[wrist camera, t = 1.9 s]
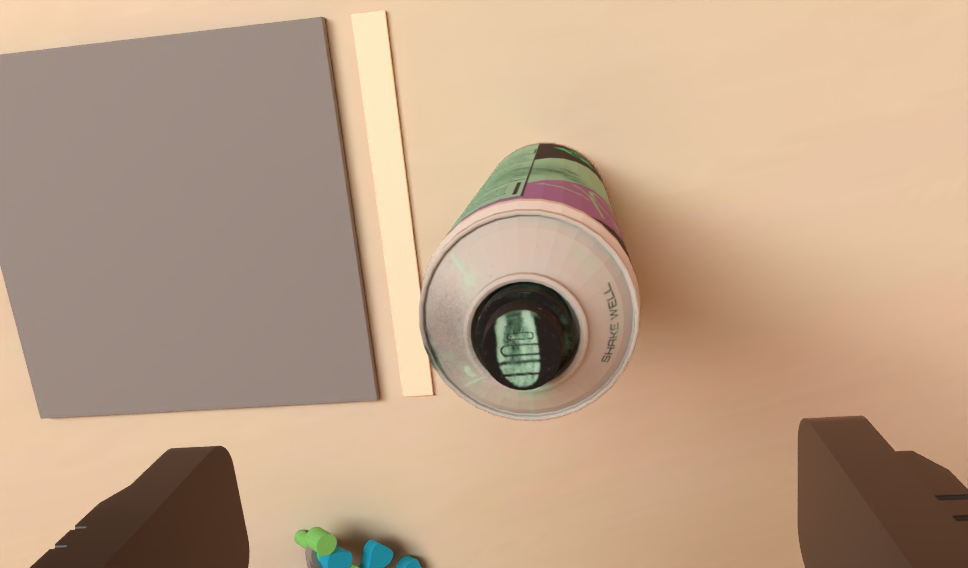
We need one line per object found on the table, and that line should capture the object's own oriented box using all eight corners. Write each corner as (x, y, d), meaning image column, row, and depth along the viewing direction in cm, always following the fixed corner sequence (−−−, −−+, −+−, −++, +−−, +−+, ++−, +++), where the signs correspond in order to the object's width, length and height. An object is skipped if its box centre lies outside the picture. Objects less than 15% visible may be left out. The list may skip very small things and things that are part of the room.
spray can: (534, 283, 36) (500, 517, 17) (461, 191, 36) (340, 329, 16) (630, 213, 35) (709, 382, 16) (557, 116, 34) (547, 170, 15)
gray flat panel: (385, 10, 34) (383, 9, 33) (433, 393, 38) (431, 397, 38) (-46, 61, 36) (-54, 60, 36) (46, 414, 41) (41, 418, 40)
